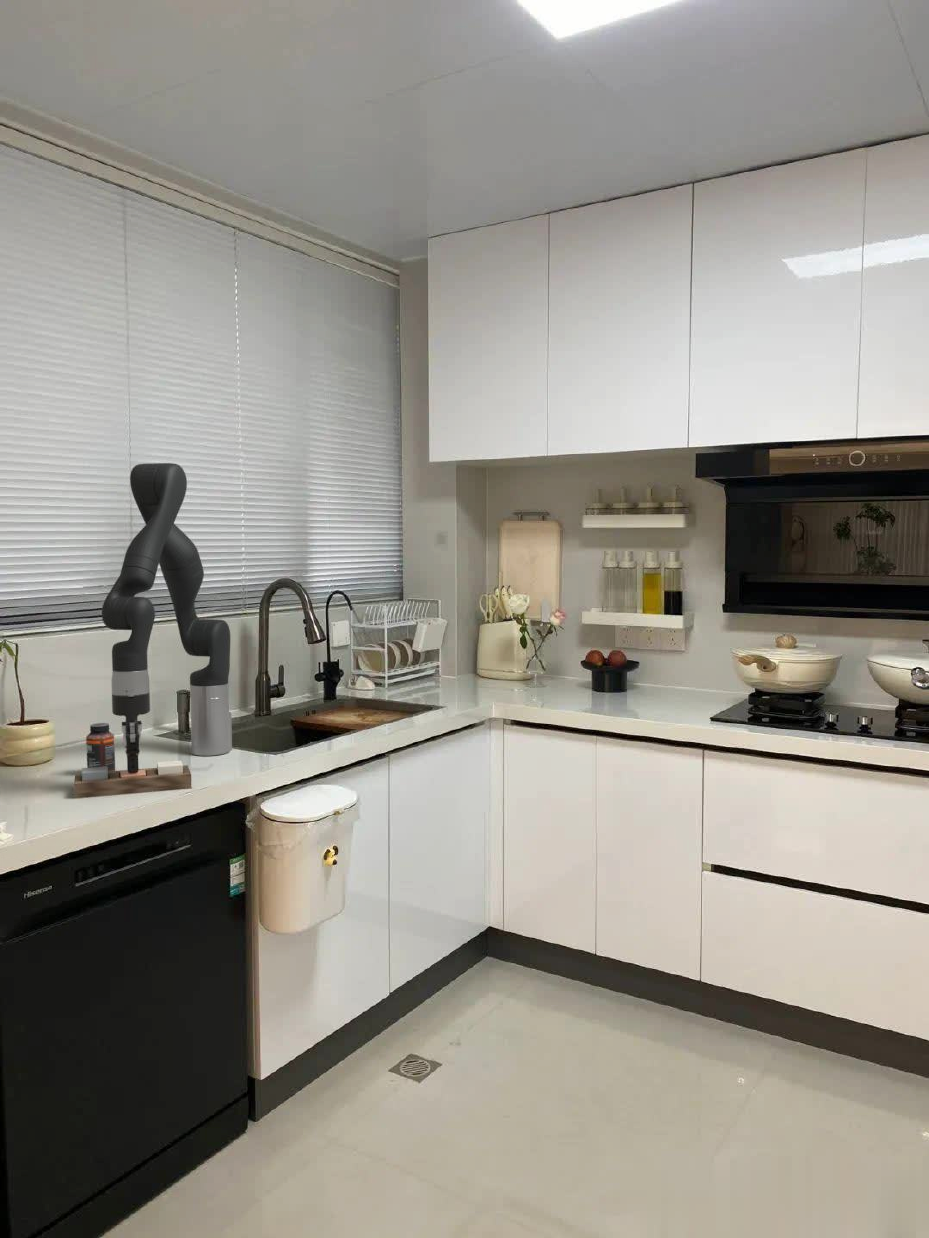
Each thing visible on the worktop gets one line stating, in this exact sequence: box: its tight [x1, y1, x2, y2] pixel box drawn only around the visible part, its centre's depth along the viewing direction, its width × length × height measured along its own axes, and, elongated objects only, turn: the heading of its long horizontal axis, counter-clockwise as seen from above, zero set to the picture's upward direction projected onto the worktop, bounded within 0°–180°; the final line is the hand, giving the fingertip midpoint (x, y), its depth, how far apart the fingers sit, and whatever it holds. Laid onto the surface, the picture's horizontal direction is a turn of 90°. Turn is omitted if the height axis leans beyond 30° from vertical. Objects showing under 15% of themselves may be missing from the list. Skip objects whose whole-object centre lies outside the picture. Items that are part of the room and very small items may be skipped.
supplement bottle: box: [85, 722, 116, 771], centre depth 214 cm, size 6×6×11 cm
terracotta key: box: [120, 770, 146, 778], centre depth 201 cm, size 5×5×2 cm
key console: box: [73, 764, 192, 799], centre depth 201 cm, size 23×9×3 cm, turn 111°
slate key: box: [81, 766, 108, 781], centre depth 198 cm, size 5×5×2 cm
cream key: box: [156, 760, 184, 775], centre depth 204 cm, size 5×5×2 cm
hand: (133, 772), depth 201 cm, fingers closed
